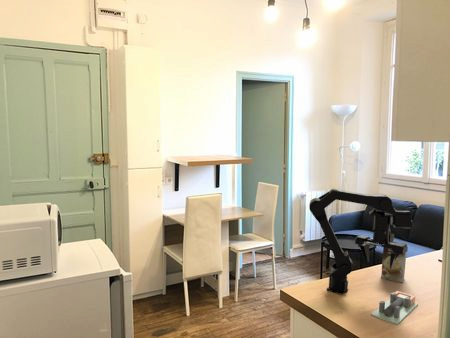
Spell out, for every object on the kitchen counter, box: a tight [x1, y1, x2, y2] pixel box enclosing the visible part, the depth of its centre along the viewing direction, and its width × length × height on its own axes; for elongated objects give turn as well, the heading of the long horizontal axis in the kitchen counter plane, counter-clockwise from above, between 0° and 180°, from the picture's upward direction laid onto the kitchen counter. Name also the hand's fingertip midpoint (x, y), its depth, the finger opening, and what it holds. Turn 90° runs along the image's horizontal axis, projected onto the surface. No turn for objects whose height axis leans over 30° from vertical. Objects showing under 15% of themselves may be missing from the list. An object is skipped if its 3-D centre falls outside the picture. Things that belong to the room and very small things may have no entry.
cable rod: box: [384, 294, 408, 316], centre depth 134 cm, size 3×17×2 cm, turn 136°
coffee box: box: [380, 240, 408, 283], centre depth 164 cm, size 9×6×16 cm
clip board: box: [370, 290, 419, 325], centre depth 134 cm, size 9×21×4 cm, turn 136°
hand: (379, 265), depth 146 cm, fingers open, 9 cm apart
